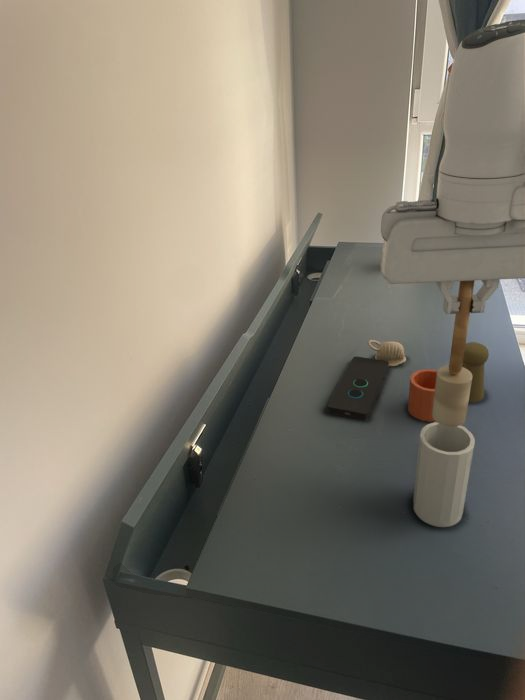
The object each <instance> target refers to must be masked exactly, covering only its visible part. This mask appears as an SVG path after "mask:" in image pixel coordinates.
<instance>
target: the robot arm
mask: <svg viewBox="0 0 525 700" xmlns="http://www.w3.org/2000/svg"><path fill="white" fill-rule="evenodd" d="M444 103H445V105H444V112H443V113H444V114H443V122H442V123H443V124H442V126H443V129H442V130H443V134H444V135H443V136H444V142H445V143H444V144H445V145H444V151H443V155H442V156H441V157H442V158H441V160H440V163H439V166H438V177H437V187H436V198H435V199H433V198H432V199H422V200H420V199H419V200H415V201H407V200H401V201H397V202H395V204H394V205H392V206H389V207H388V208H387V209H386V210H385V211H384V212H383V214H382V215H381V219H380V235H381V237H382V239H383V244H382V247H381V248H382V250H381V254H380V255H381V256H380V272H381V275H382V277H383V279H384V280H385V281H386V282H387V283H388V284H389V285H398V284H399V285H402V284H404V285H405V284H422V283H423V284H424V283H425V284H426V283H435V284H436V285H437V287H438V289H439V291H440V293H441V294H442V296H443V303H442V304H443V305H442V308H443V312H444V314H445V315H454V314H455V315H456V314H458V313H459V307H460V300H459V299H458V295H451V294H450V292H449V290H453V288H454V282H460V281H474V280H475V281H481V282H482V283H483V284H482V285H481V286H480V288H479V289H478V291H477V292H476V293H475V294H473V295H472V302H471V309H470V314H482V313H485V311H486V310H485V308H486V304H487V301H488V300H489V299H490V298H491V297H492V295H494V293H495V292H496V290H497V289H498V288H499V285H500V280H514V279H515V280H516V279H519V280H520V279H525V19H515V20H509V21H505V22H501V23H495V24H491V25H486V26H483V27H481V28H479V29H476V30H474V31H473V32H470V33H469V34H468V35H467V36H466V37H464V38H463V39H462V40H461V42H460V43H459V45H458V47H457V50H456V52H455V55H454V58H453V61H452V64H451V68H450V73H449V78H448V84H447V88H446V96H445V102H444ZM475 281H474V282H475Z"/></svg>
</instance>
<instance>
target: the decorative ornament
mask: <svg viewBox="0 0 525 700" xmlns="http://www.w3.org/2000/svg"><path fill="white" fill-rule="evenodd" d="M371 343H374V344H376V345H377V347H375V346H373V345H372V344H371ZM367 344H368V346H369V348H370V349H372V350H373V351H376V354H375V356H374V359H377V360H383V361H388V362H389V367H397V366H400V365H402V364H404V363H406V361H407V357H406V355H405V348H404V346H403V345H402V344H401V343H400V342H397V341H390V340H389V341H388V340H387V341H383V342H381V343H380V342H379V341H378V340H375V339H369V340H368V341H367Z"/></svg>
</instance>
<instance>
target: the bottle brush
mask: <svg viewBox="0 0 525 700" xmlns="http://www.w3.org/2000/svg"><path fill="white" fill-rule="evenodd" d="M475 282H476V280H474V281H459V285H458V293H457V297H458V299H459V300H460V307H459V313H458V314H455V316H454V324H453V331H452V340H451V347H450V355H449V364H448V365H444V366H441V367H439V368H438V369H437V370H438V371H437V376H436V384H435V393H434V402H433V410H432V417H433V419H434V420H435V421H434V422H437V423H439V424H441V425H444V426H448V427H456V426H462V425H464V424H465V422H466V420H467V413H468V408H469V403H470V402H469V396H470V389H471V383H472V373H471V372H470V371H469V370H467V369H466V368H463V367H462V365H463V358H464V351H465V344H466V343H467V338H468V328H469V323H470V316H471V313H470V309H471V302H472V295H474V289H475V288H474V286H475Z"/></svg>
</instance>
